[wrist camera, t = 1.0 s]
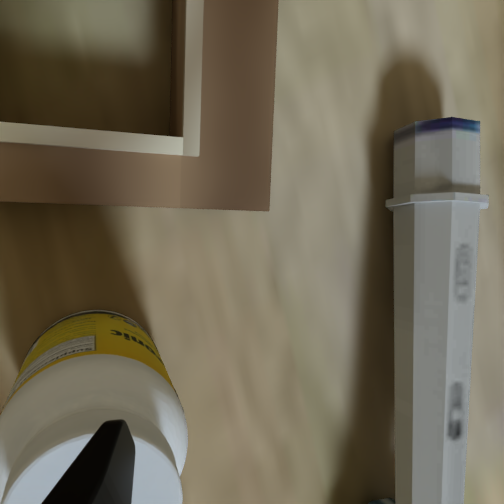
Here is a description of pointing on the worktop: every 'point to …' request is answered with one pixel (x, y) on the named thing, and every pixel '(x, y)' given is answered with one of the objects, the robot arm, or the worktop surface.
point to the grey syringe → (434, 304)
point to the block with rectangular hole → (181, 127)
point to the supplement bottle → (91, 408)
